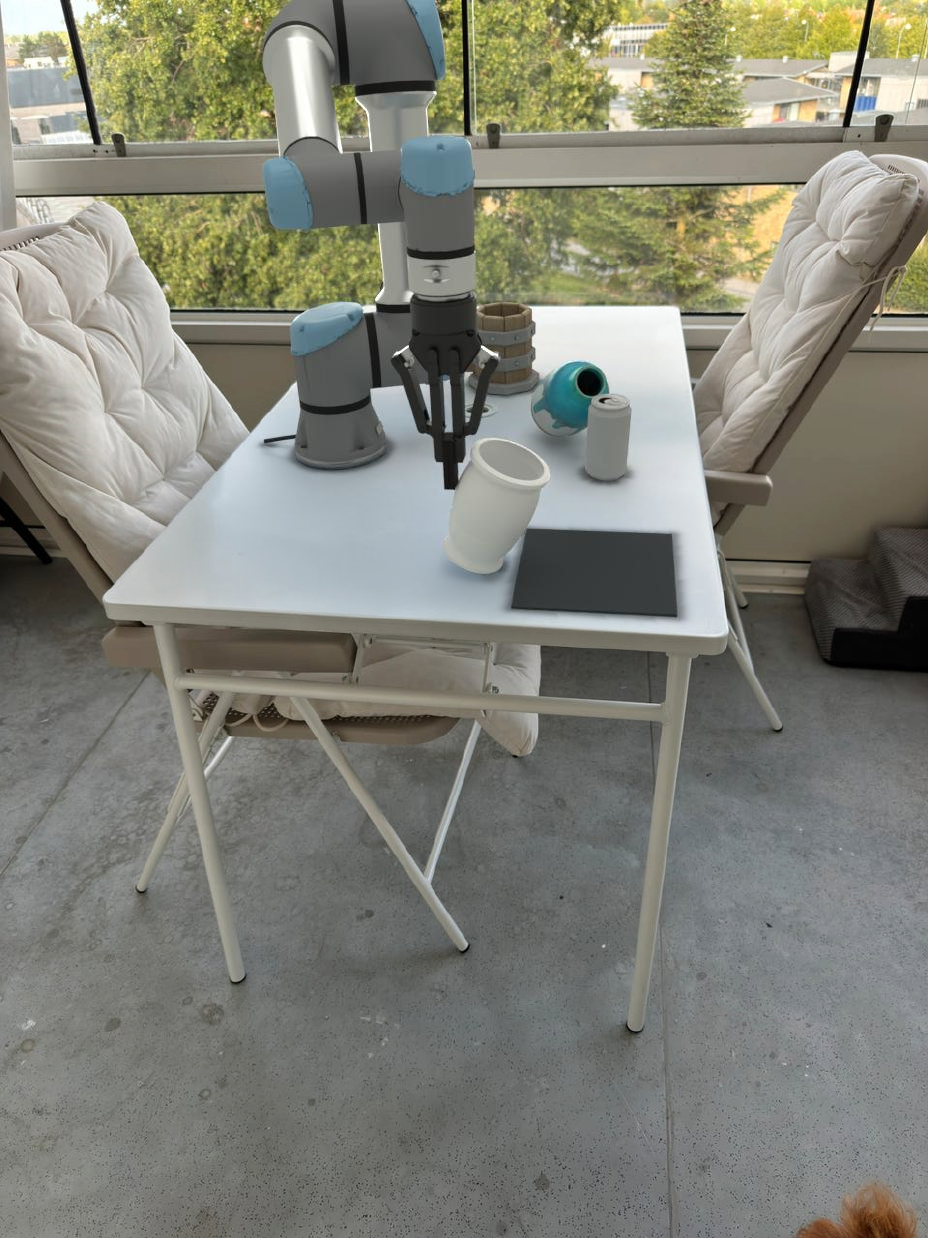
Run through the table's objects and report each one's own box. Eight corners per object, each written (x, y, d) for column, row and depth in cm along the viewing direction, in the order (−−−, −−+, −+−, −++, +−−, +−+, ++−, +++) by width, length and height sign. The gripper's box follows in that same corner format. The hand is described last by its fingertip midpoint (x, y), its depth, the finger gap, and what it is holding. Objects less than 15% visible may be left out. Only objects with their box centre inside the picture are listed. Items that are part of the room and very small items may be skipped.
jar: (501, 591, 119) (545, 495, 110) (426, 560, 119) (464, 462, 110) (514, 549, 127) (555, 457, 119) (444, 520, 127) (480, 426, 118)
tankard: (545, 374, 183) (545, 296, 174) (524, 397, 173) (524, 316, 165) (450, 366, 189) (446, 290, 181) (426, 387, 180) (420, 308, 171)
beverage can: (599, 459, 149) (603, 388, 141) (633, 470, 145) (640, 398, 138) (576, 475, 145) (580, 402, 138) (612, 486, 141) (617, 412, 134)
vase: (584, 383, 160) (625, 350, 141) (582, 445, 160) (623, 419, 141) (524, 378, 158) (558, 343, 139) (522, 440, 158) (556, 414, 139)
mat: (511, 608, 115) (511, 606, 115) (526, 530, 131) (526, 528, 131) (676, 616, 112) (677, 614, 112) (671, 535, 128) (671, 533, 128)
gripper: (378, 301, 102) (394, 496, 115) (495, 301, 100) (498, 500, 113) (393, 283, 108) (407, 470, 121) (504, 284, 106) (506, 474, 119)
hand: (451, 484), depth 117 cm, fingers closed
